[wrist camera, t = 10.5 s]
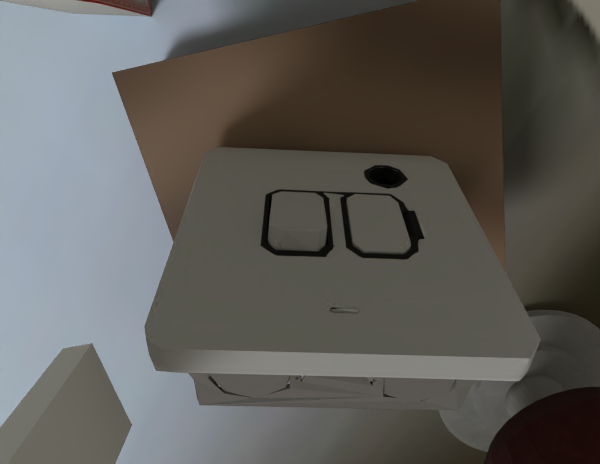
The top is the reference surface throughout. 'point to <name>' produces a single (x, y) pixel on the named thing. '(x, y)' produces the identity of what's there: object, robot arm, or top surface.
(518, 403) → the mate gourd
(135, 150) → the top surface
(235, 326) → the electrical switch
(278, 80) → the walnut stand
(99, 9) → the milk carton
